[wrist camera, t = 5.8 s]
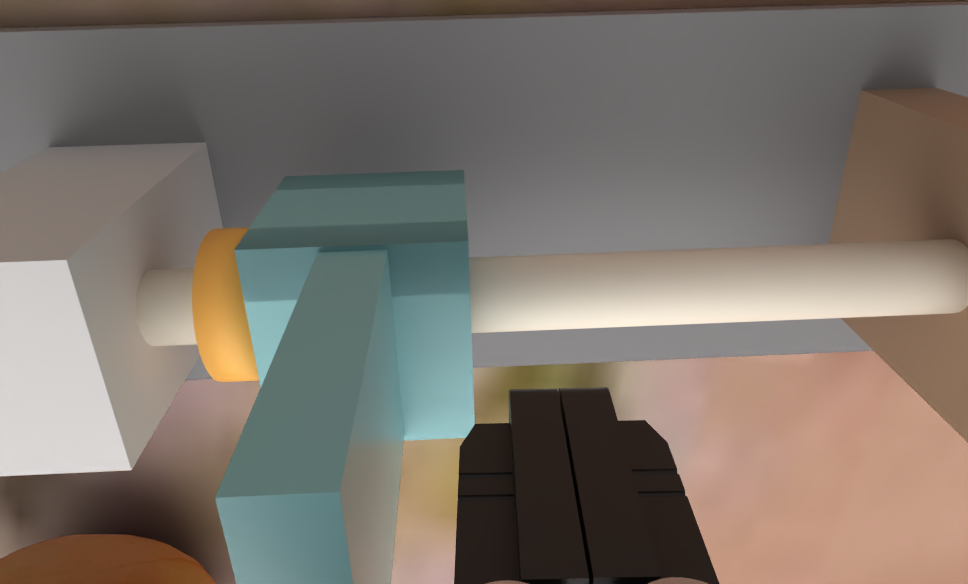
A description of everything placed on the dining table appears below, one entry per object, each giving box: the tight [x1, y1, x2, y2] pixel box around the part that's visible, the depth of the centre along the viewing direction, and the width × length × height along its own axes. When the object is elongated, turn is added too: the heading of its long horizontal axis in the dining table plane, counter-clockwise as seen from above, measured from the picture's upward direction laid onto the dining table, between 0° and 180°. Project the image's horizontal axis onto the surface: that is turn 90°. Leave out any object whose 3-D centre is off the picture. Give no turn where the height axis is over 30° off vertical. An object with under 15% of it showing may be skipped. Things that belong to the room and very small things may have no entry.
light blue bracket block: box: [215, 170, 475, 584], centre depth 12 cm, size 4×4×10 cm
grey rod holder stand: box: [0, 1, 968, 476], centre depth 17 cm, size 26×10×8 cm, turn 91°
